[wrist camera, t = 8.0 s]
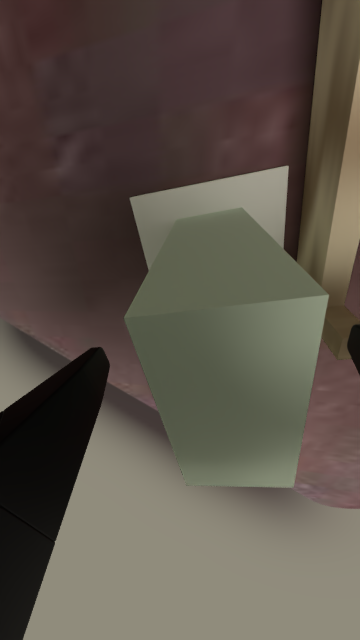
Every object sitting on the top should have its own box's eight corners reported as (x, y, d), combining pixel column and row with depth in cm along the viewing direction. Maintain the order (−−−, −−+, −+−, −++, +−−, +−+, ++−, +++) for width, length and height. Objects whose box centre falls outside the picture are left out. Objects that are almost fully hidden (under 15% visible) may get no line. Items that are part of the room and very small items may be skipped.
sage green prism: (245, 318, 16) (293, 487, 7) (195, 323, 16) (186, 485, 8) (241, 207, 12) (328, 294, 4) (176, 219, 13) (123, 317, 4)
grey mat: (275, 328, 17) (277, 333, 16) (168, 338, 18) (167, 343, 17) (284, 165, 11) (288, 165, 11) (132, 196, 13) (129, 197, 12)
